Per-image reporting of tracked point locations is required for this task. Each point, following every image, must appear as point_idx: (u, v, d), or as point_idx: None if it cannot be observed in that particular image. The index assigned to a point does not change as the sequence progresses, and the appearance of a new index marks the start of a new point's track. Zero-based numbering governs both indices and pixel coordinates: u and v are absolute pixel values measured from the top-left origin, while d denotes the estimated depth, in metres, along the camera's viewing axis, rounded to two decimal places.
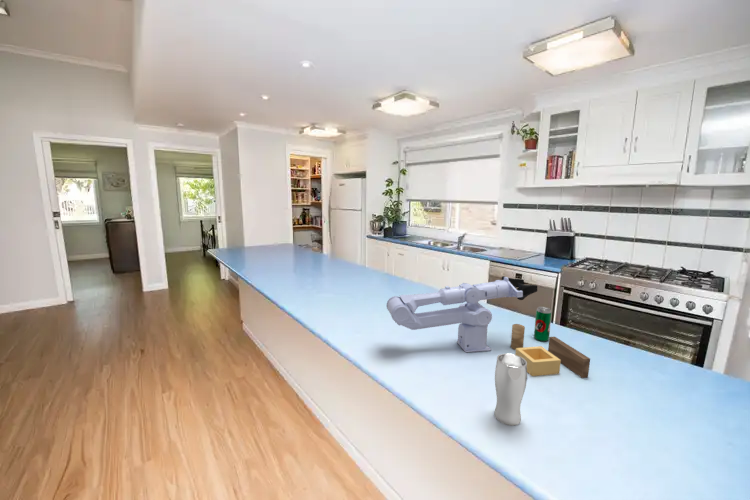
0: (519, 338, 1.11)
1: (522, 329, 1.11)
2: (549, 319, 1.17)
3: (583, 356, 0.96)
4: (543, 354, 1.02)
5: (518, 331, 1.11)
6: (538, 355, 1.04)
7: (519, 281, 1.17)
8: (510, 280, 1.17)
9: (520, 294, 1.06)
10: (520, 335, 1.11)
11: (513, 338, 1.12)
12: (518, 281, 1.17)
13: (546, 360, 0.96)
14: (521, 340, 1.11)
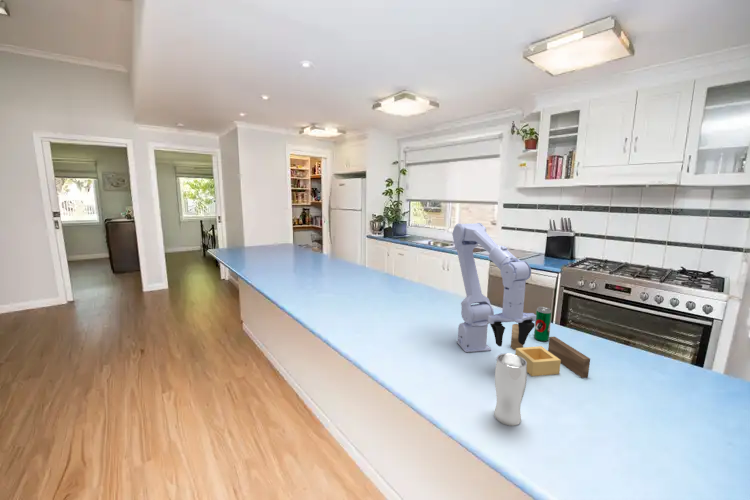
0: None
1: None
2: (549, 319, 1.17)
3: (583, 356, 0.96)
4: (543, 354, 1.02)
5: (518, 331, 1.11)
6: (538, 355, 1.04)
7: (522, 339, 0.98)
8: (525, 329, 0.97)
9: (489, 320, 0.96)
10: None
11: (513, 338, 1.12)
12: (522, 338, 0.98)
13: (546, 360, 0.96)
14: None
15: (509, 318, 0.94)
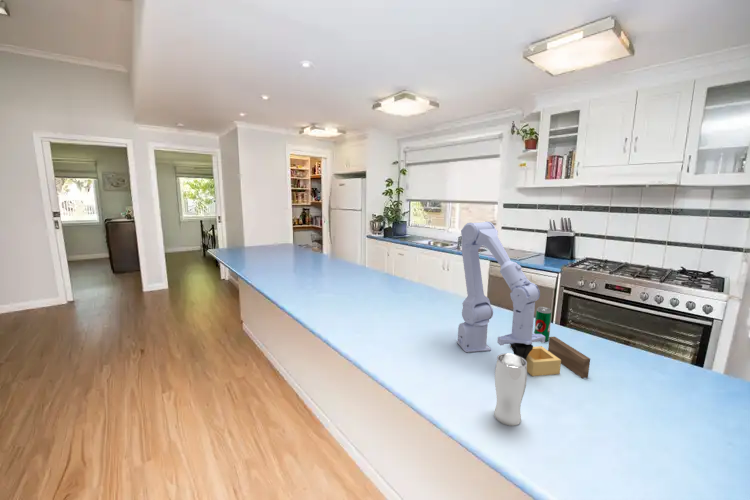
0: None
1: None
2: (549, 319, 1.17)
3: (583, 356, 0.96)
4: (543, 354, 1.02)
5: None
6: (539, 355, 1.04)
7: None
8: None
9: (499, 341, 0.98)
10: None
11: None
12: None
13: (546, 360, 0.96)
14: None
15: (519, 340, 0.96)
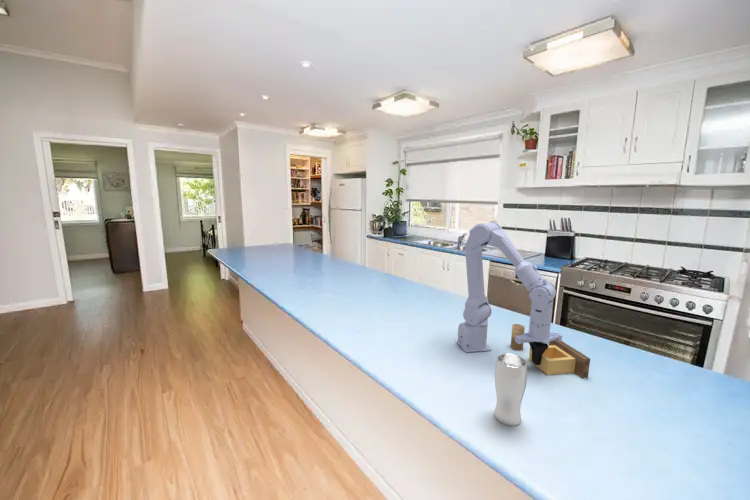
0: None
1: (522, 329, 1.11)
2: None
3: (583, 356, 0.96)
4: (557, 353, 1.03)
5: (518, 331, 1.11)
6: (552, 354, 1.05)
7: (535, 359, 1.00)
8: None
9: (516, 340, 0.98)
10: None
11: (513, 338, 1.12)
12: (536, 358, 1.00)
13: (561, 359, 0.97)
14: None
15: (536, 339, 0.97)
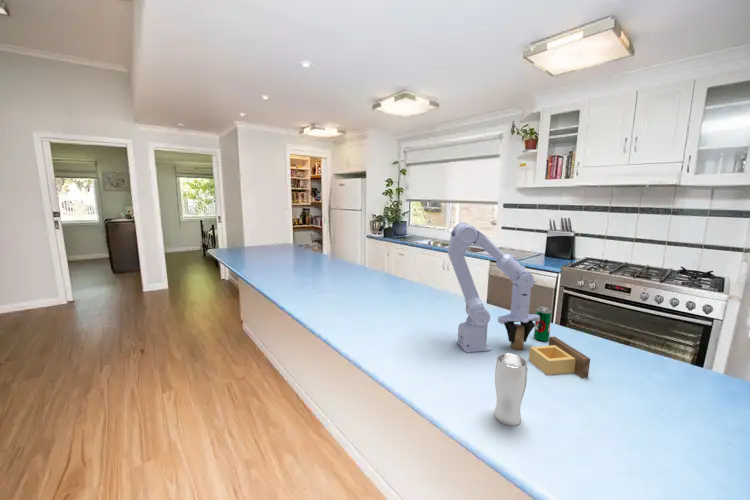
0: (519, 338, 1.11)
1: (522, 329, 1.11)
2: (549, 319, 1.17)
3: (583, 356, 0.96)
4: (557, 353, 1.03)
5: (518, 331, 1.11)
6: (552, 354, 1.05)
7: (524, 337, 1.13)
8: (526, 328, 1.12)
9: (499, 320, 1.11)
10: (520, 335, 1.11)
11: None
12: (524, 336, 1.13)
13: (561, 359, 0.97)
14: (521, 340, 1.11)
15: (517, 319, 1.10)
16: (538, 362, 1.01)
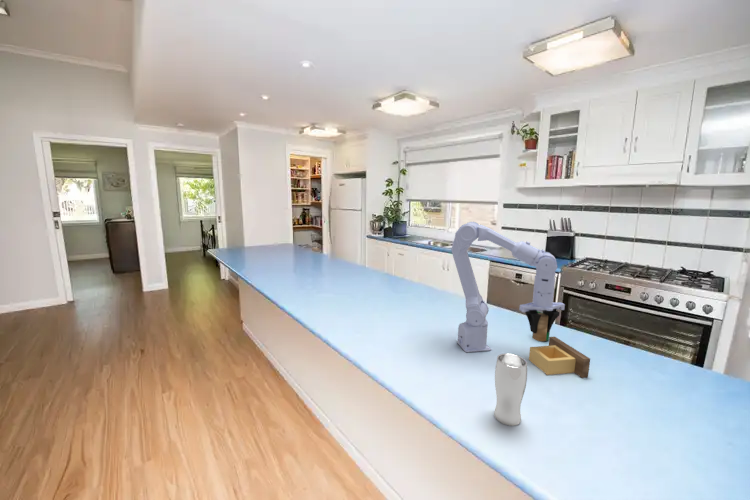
0: (542, 328, 1.02)
1: (546, 318, 1.02)
2: None
3: (583, 356, 0.96)
4: (557, 353, 1.03)
5: (541, 320, 1.02)
6: (552, 354, 1.05)
7: (547, 327, 1.04)
8: (550, 317, 1.03)
9: (521, 308, 1.02)
10: (544, 324, 1.02)
11: None
12: (547, 326, 1.04)
13: (561, 359, 0.97)
14: (544, 330, 1.03)
15: (540, 307, 1.01)
16: (538, 362, 1.01)
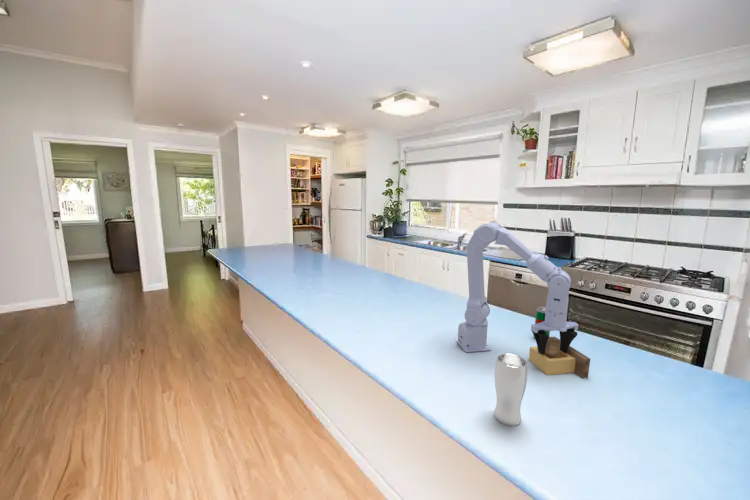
0: (554, 354, 0.99)
1: (558, 344, 0.99)
2: None
3: (583, 356, 0.96)
4: None
5: (553, 346, 0.99)
6: None
7: (564, 347, 1.01)
8: (567, 338, 0.99)
9: (533, 328, 0.99)
10: (556, 350, 0.99)
11: (547, 354, 1.00)
12: (564, 346, 1.01)
13: (561, 359, 0.97)
14: (557, 356, 0.99)
15: (553, 327, 0.97)
16: (538, 362, 1.01)
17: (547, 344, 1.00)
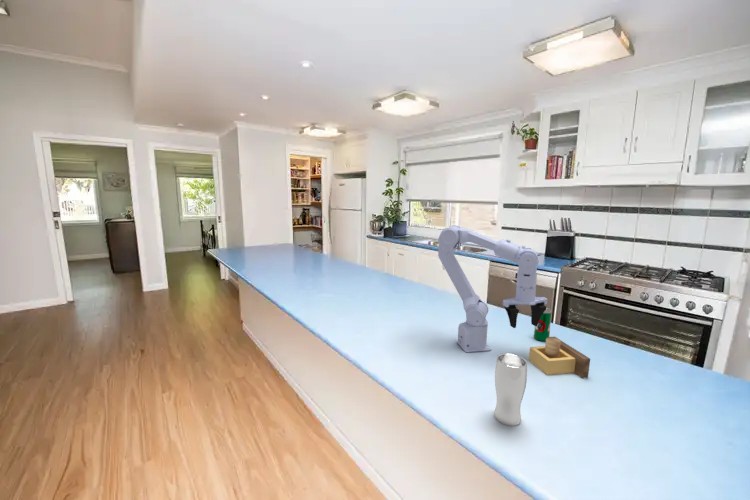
0: (554, 354, 0.99)
1: (558, 344, 0.99)
2: (549, 319, 1.17)
3: (583, 356, 0.96)
4: None
5: (553, 346, 0.99)
6: None
7: (535, 321, 1.06)
8: (537, 311, 1.05)
9: (504, 303, 1.04)
10: (556, 350, 0.99)
11: (547, 354, 1.00)
12: (535, 320, 1.06)
13: (561, 359, 0.97)
14: (557, 356, 0.99)
15: (523, 301, 1.03)
16: (538, 362, 1.01)
17: (547, 344, 1.00)
